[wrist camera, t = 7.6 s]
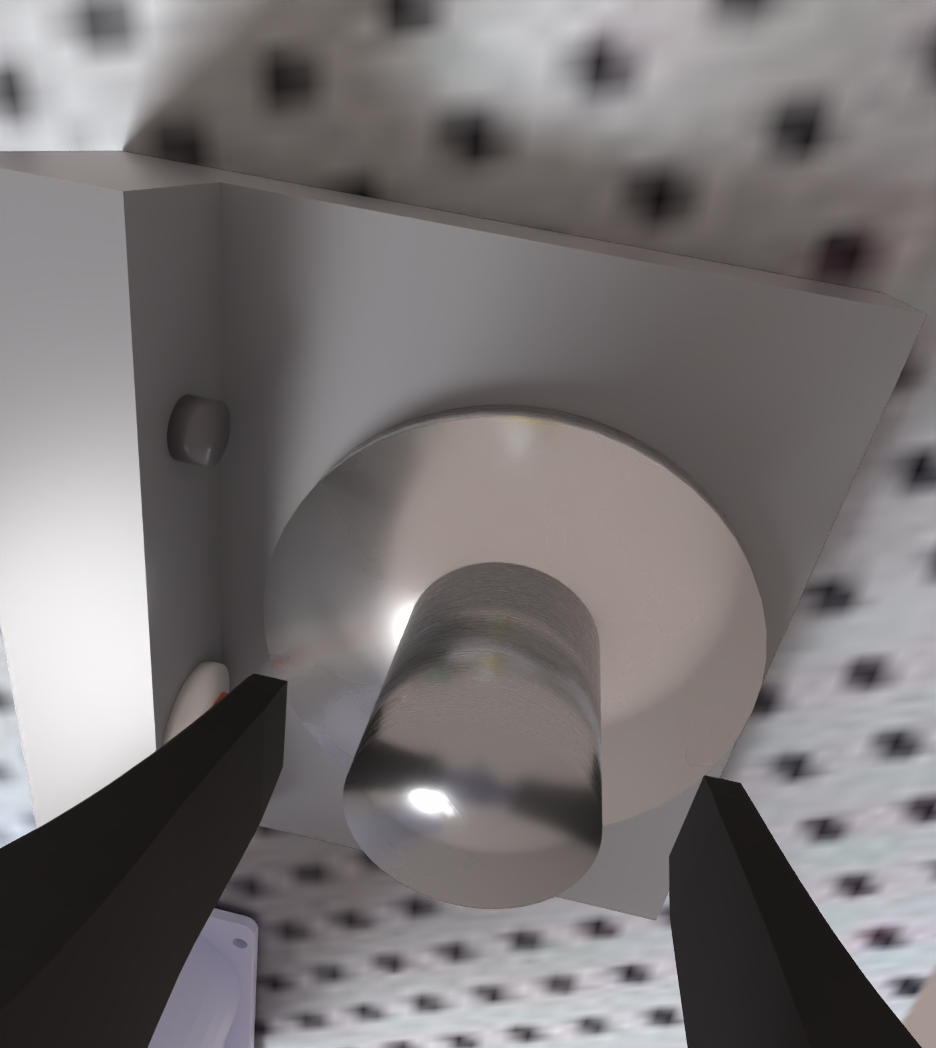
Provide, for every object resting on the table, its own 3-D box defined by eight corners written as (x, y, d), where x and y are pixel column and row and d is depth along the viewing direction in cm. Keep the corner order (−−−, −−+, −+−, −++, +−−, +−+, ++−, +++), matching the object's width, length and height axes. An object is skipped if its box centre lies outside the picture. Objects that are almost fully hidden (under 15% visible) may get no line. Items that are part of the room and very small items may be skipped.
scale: (650, 856, 21) (665, 1041, 17) (154, 740, 22) (47, 887, 18) (883, 293, 14) (1022, 362, 9) (120, 150, 15) (-83, 152, 10)
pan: (674, 847, 18) (678, 876, 17) (270, 753, 19) (257, 776, 18) (840, 467, 13) (854, 484, 13) (286, 356, 14) (271, 367, 13)
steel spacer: (587, 733, 16) (585, 927, 12) (406, 707, 16) (346, 886, 12) (612, 575, 14) (620, 741, 10) (408, 550, 15) (338, 701, 11)
